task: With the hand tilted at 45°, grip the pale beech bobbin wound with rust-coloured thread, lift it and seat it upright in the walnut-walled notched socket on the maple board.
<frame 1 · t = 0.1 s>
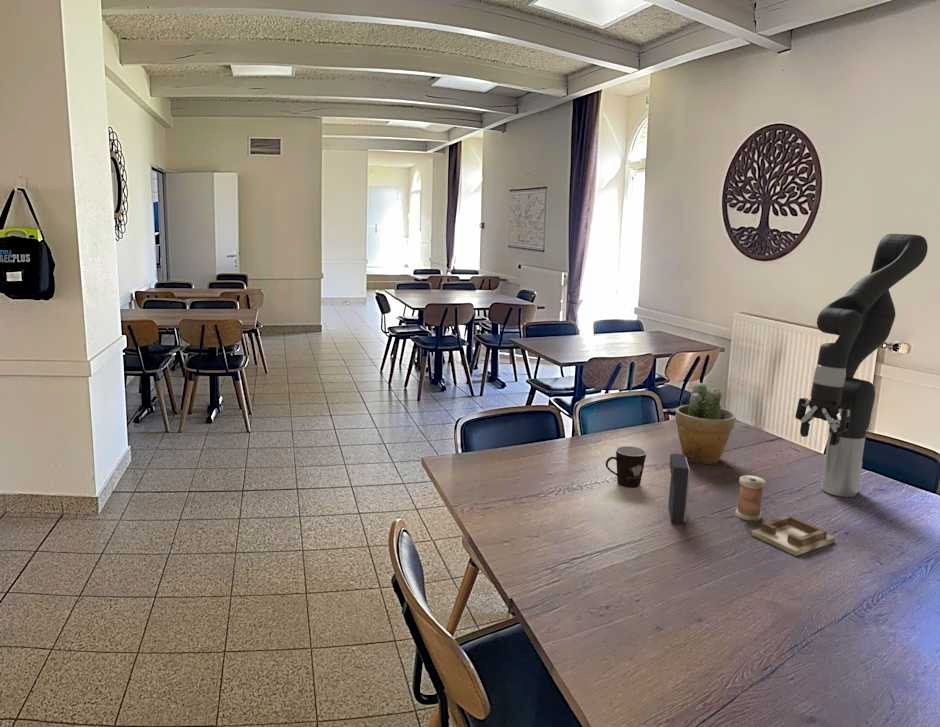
hand: (818, 440, 189), 17 cm above the table, tool pointing down, fingers open, 8 cm apart
board: (792, 538, 169), on the table
calculator: (675, 516, 181), on the table
coffee mug: (623, 484, 201), on the table
bobbin: (748, 515, 181), on the table
potted plant: (700, 458, 225), on the table
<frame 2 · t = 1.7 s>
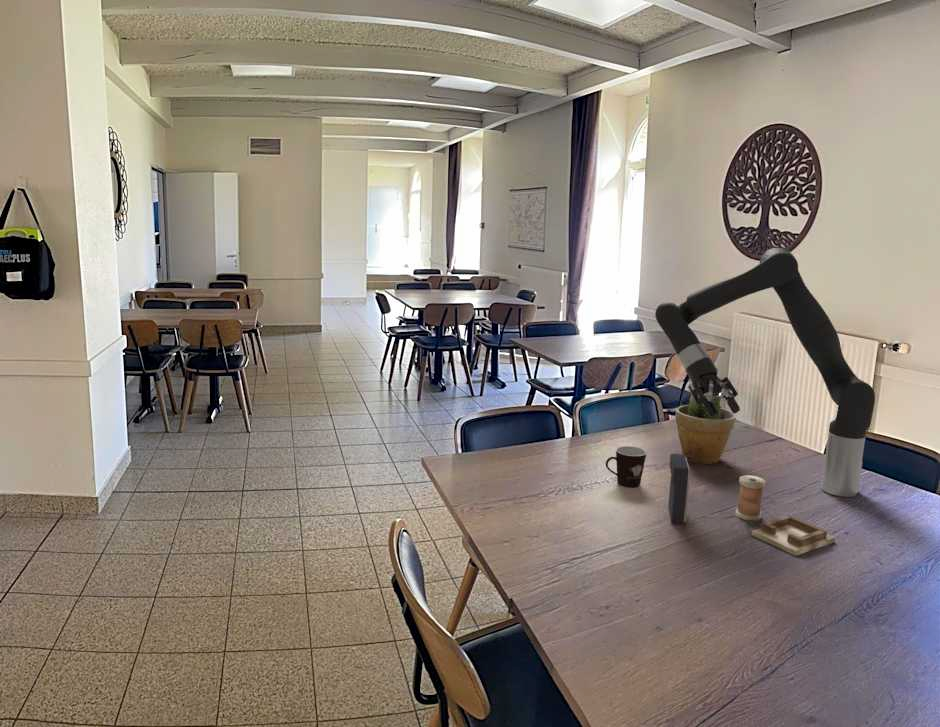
hand: (726, 413, 187), 24 cm above the table, tool tilted 45°, fingers open, 8 cm apart
nothing on the table moved.
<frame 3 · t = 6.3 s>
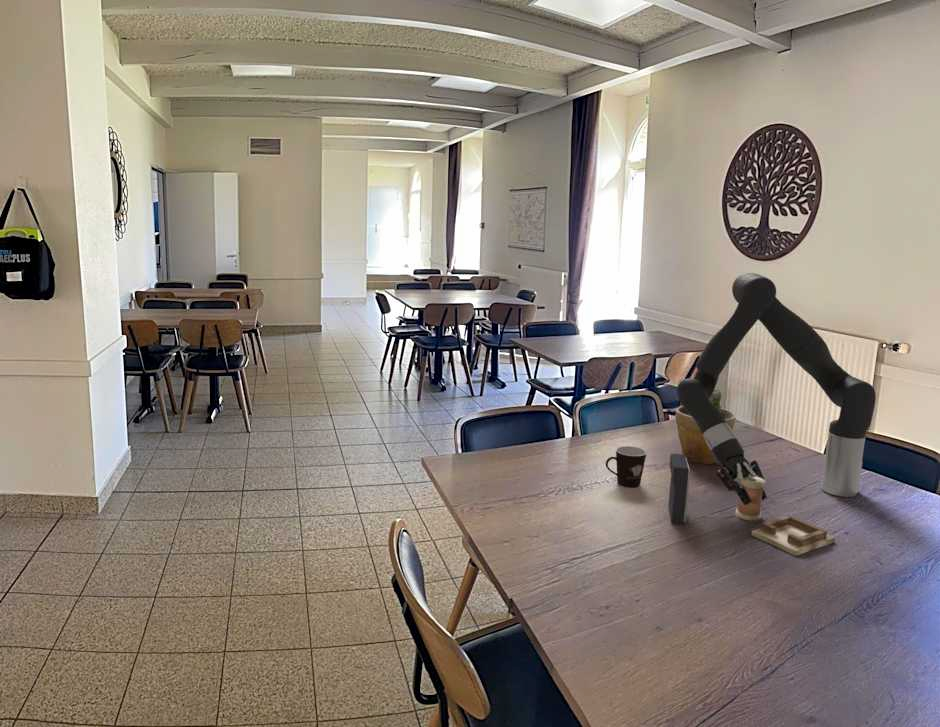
hand: (756, 501, 179), 5 cm above the table, tool tilted 45°, fingers closed on bobbin, 5 cm apart
bobbin: (748, 515, 181), on the table, touching gripper
everything else where it was.
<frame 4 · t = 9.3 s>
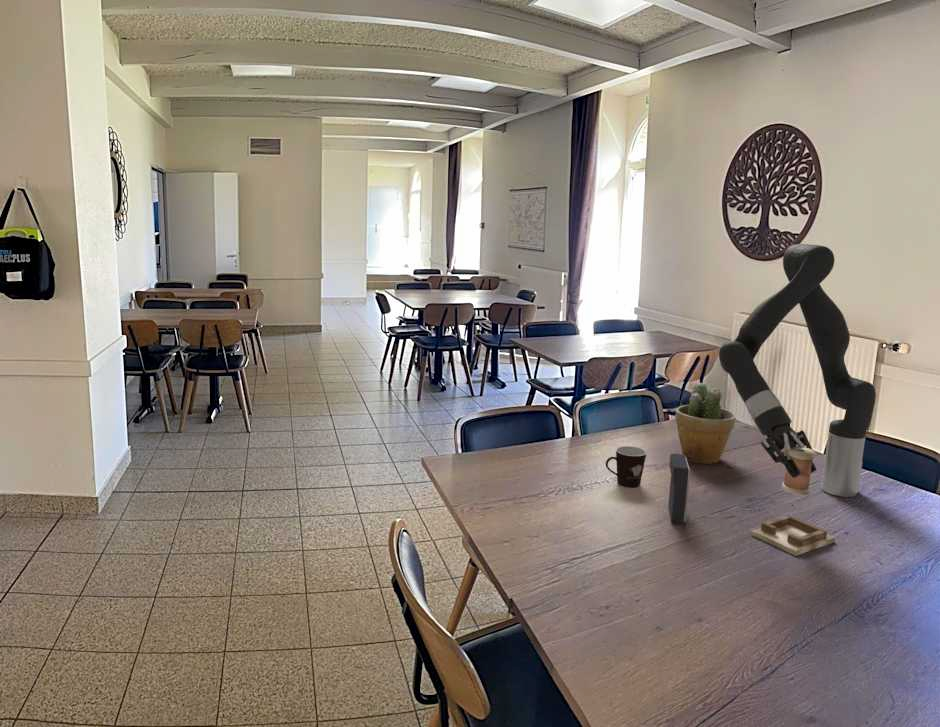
hand: (804, 473, 165), 17 cm above the table, tool tilted 45°, fingers closed on bobbin, 5 cm apart
bobbin: (795, 489, 167), point 12 cm above the table, touching gripper
everything else where it was.
when the fingers open (7 cm above the table, at t = 12.2 s): bobbin drops 1 cm, resting on board.
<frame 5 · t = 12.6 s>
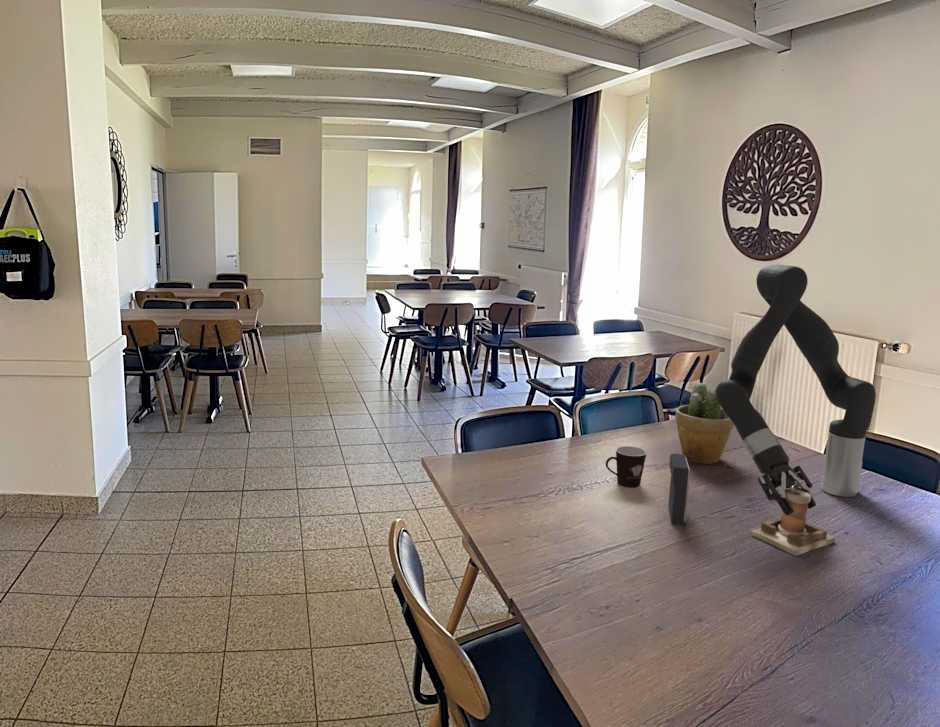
hand: (801, 510, 166), 8 cm above the table, tool tilted 45°, fingers open, 8 cm apart
bobbin: (791, 532, 169), point 1 cm above the table, touching board
everything else where it was.
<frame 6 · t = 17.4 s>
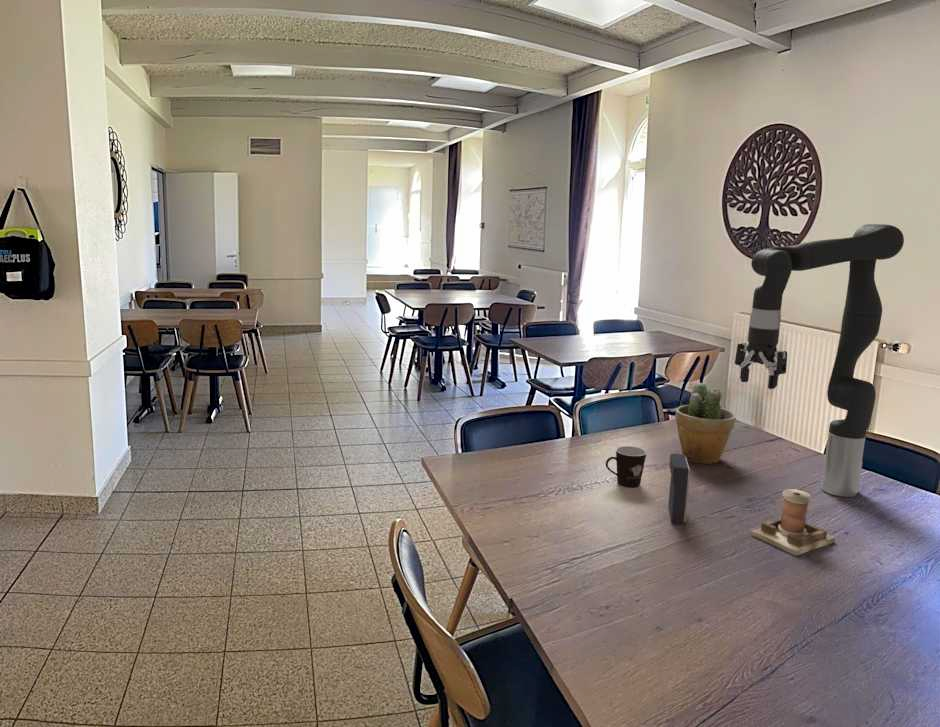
hand: (757, 385, 187), 32 cm above the table, tool pointing down, fingers open, 8 cm apart
nothing on the table moved.
at the end: bobbin 0.8 cm off-centre on the board, point 1.2 cm above the board's base; bobbin tilted 0°; the gripper is holding nothing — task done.
